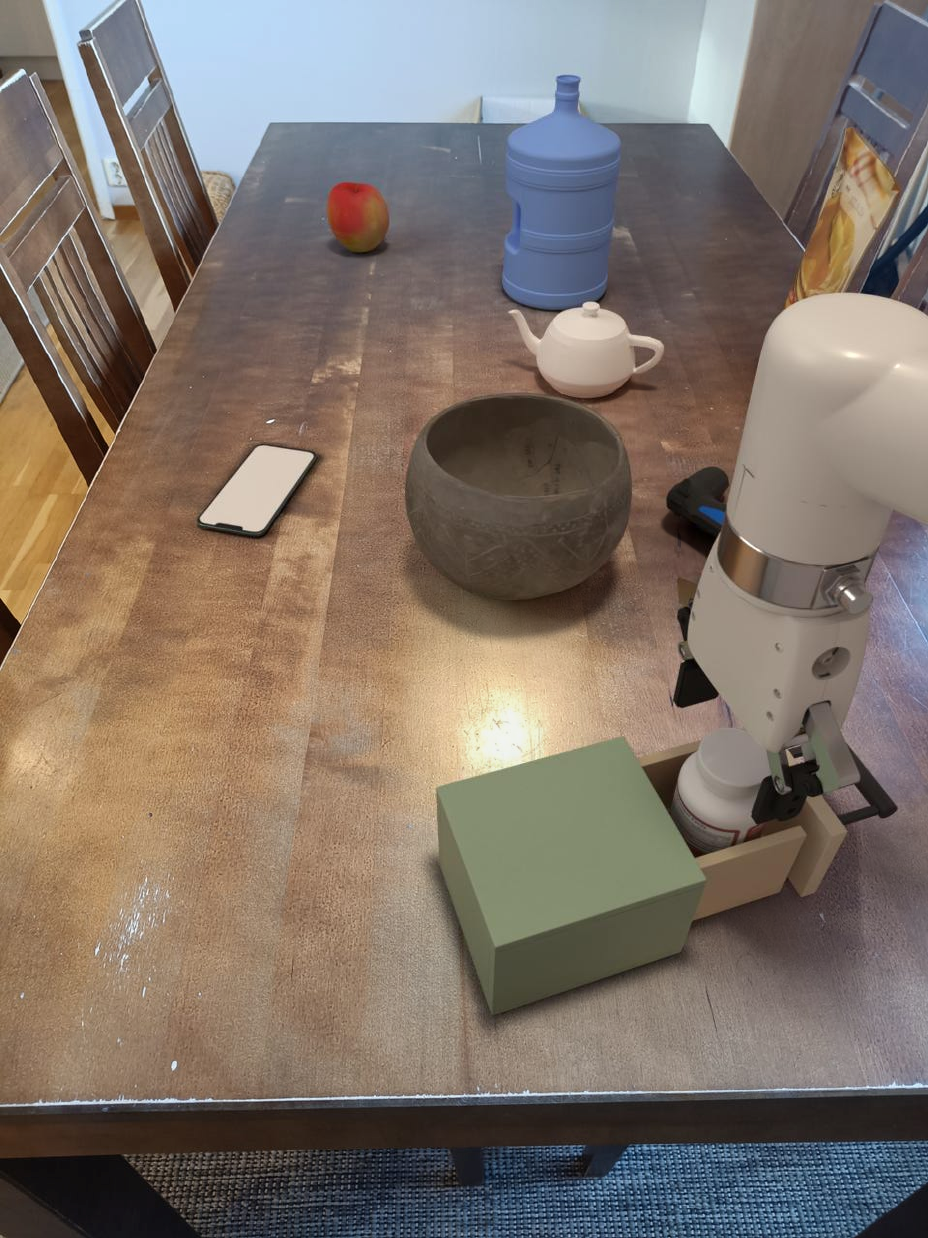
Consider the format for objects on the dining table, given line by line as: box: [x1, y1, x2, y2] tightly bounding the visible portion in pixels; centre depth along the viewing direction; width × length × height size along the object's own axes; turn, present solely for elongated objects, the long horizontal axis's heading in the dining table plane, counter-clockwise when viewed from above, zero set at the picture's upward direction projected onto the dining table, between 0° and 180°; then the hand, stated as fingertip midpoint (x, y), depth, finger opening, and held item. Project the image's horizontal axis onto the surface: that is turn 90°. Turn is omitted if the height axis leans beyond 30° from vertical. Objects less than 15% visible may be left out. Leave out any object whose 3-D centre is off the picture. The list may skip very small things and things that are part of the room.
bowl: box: [404, 391, 633, 601], centre depth 84 cm, size 21×21×15 cm
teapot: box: [507, 301, 665, 399], centre depth 112 cm, size 20×12×10 cm, turn 70°
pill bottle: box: [669, 726, 771, 858], centre depth 60 cm, size 6×6×11 cm
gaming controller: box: [665, 466, 730, 539], centre depth 90 cm, size 17×6×10 cm
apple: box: [326, 181, 390, 253], centre depth 143 cm, size 10×10×10 cm
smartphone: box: [196, 443, 318, 537], centre depth 98 cm, size 8×1×16 cm
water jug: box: [501, 74, 622, 311], centre depth 125 cm, size 16×16×28 cm
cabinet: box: [435, 735, 707, 1016], centre depth 60 cm, size 14×12×10 cm
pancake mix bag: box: [781, 126, 902, 313], centre depth 105 cm, size 7×19×28 cm, turn 171°
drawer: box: [636, 725, 899, 921], centre depth 63 cm, size 19×10×8 cm, turn 108°
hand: (732, 754), depth 58 cm, fingers open, 9 cm apart
